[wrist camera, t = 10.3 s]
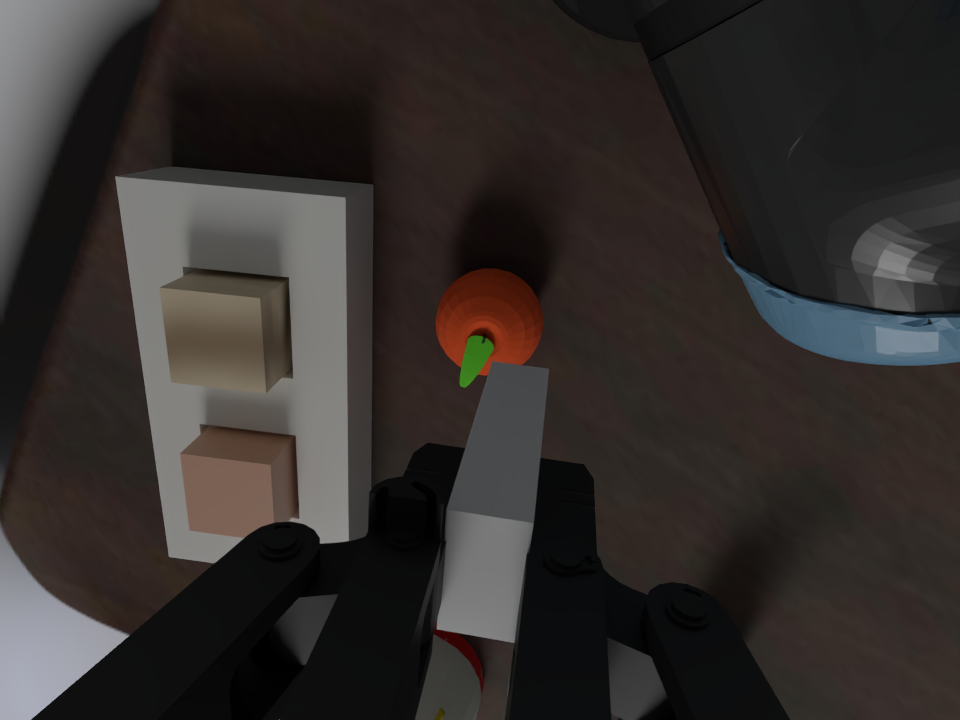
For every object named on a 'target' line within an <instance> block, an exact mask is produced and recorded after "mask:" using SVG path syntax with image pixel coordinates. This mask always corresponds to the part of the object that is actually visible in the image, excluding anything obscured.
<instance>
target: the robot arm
mask: <svg viewBox="0 0 960 720" xmlns="http://www.w3.org/2000/svg"><path fill="white" fill-rule="evenodd" d="M553 1H554V3H555V4H556V5H557V6H558V7H559V8H560V9H561V10H562V11H563V12H564V13H566V14H567V15H568V16H569V17H570V18H572V19H573V20H575V21H576V22H577V23H579V24H581V25H582V26H584V27H586V28H587V29H589V30H591V31H594V32H596V33H598V34H601V35H603V36H606V37H610V38H613V39H618V40H623V41H631V42H641V45H642V47H643V49H644V52H645V54H646V56H647V59H648V61H649V62H648V63H649V66H650V68H651V70H652V73H653V75H654V77H655V80H656V82H657V84H658V87H659V89H660V91H661V93H662V96H663V98H664V100H665V103H666V105H667V107H668V110H669V112H670V114H671V117H672V119H673V121H674V124H675V126H676V128H677V130H678V133H679V135H680V137H681V140H682V142H683V144H684V147H685V149H686V151H687V154H688V156H689V158H690V161H691V163H692V165H693V167H694V170H695V172H696V174H697V177H698V179H699V181H700V184H701V186H702V188H703V191H704V193H705V195H706V197H707V200H708V202H709V204H710V207H711V209H712V211H713V214H714V216H715V218H716V221H717V223H718V225H719V228H720V230H719V241H720V245H721V248H722V251H723V253H724V255H725V257H726V259H727V260H728V262H730V263H731V264H732V266H733V268H734V270H735V271H736V272H737V273H738V274H739V275H740V276H741V278H742V280H743V282H744V284H745V286H746V288H747V290H748V292H749V294H750V296H751V298H752V300H753V302H754V304H755V306H756V308H757V310H758V312H759V313H760V315H761V316H762V317H763V319H764V320H765V321H767V323H768V324H769V325H770V326H771V327H772V328H773V329H774V330H775V331H776V332H777V333H778V334H780V335H781V336H783V337H784V338H785V339H787V340H789V341H790V342H792V343H794V344H796V345H798V346H800V347H802V348H805V349H807V350H810V351H812V352H815V353H818V354H821V355H824V356H828V357H832V358H836V359H841V360H845V361H852V362H859V363H868V364H879V365H898V366H913V365H933V364H945V363H953V362H960V0H553ZM651 59H652V60H651ZM548 374H549V369H546V368H539V367H532V366H524V365H517V364H510V363H502V362H495V361H492V364H491V367H490V370H489V373H488V377H487V380H486V383H485V386H484V390H483V393H482V396H481V399H480V403H479V406H478V409H477V412H476V415H475V419H474V422H473V425H472V428H471V432H470V435H469V438H468V441H467V445H466V448H459V447H453V446H446V445H439V444H433V443H427V444H425V445H424V446H423V447H421V448H420V449H418V450H417V451H416V452H414V453H413V455H412V458H411V460H410V462H409V464H408V466H407V469H406V471H405V473H404V475H403V477H396V478H391V479H386V480H384V481H382V482H380V483H378V484H376V485H375V486H374V487H373V488H372V489H371V491H370V492H369V508H368V532H367V534H366V536H365V537H362V538H359V539H356V540H353V541H346V542H337V543H322V544H320V538H319V536H318V535H317V533H316V532H315V530H314V529H312V528H310V527H308V526H307V525H305V524H301V523H296V522H291V521H290V522H275V523H272V524H268V525H265V526H262V527H260V528H258V529H256V530H255V531H253V532H252V533H250V534H248V535H247V536H246V537H245V538H244V539H243V540H241V541H240V542H239V543H238V544H237V545H236V546H234V547H233V548H232V549H231V550H230V551H228V552H227V553H226V554H225V555H224V556H223V557H221V558H220V559H219V560H218V561H217V562H216V563H214V564H213V565H212V566H211V567H210V568H209V569H207V570H206V571H205V572H204V573H203V574H202V575H200V576H199V577H198V578H197V579H196V580H194V581H193V582H192V583H191V584H190V585H189V586H187V587H186V588H185V589H184V590H183V591H182V592H180V593H179V594H178V595H177V596H176V597H175V598H173V599H172V600H171V601H170V602H169V603H167V604H166V605H165V606H164V607H163V608H162V609H160V610H159V611H158V612H157V613H156V614H155V615H153V616H152V617H151V618H150V619H149V620H148V621H146V622H145V623H144V624H143V625H142V626H140V627H139V628H138V629H137V630H136V631H135V632H133V633H132V634H131V635H130V636H129V637H128V638H126V639H125V640H124V641H123V642H122V643H121V644H119V645H118V646H117V647H116V648H115V649H114V650H112V651H111V652H110V653H109V654H108V655H106V656H105V657H104V658H103V659H102V660H101V661H100V662H99V663H97V664H96V665H95V666H94V667H92V668H91V669H90V670H89V671H88V672H87V673H86V674H84V675H83V676H82V677H81V678H80V679H78V680H77V681H76V682H75V683H74V684H72V685H71V686H70V687H69V688H68V689H67V690H65V691H64V692H63V693H62V694H61V695H60V696H58V697H57V698H56V699H55V700H54V701H52V702H51V703H50V704H49V705H48V706H47V707H46V708H44V709H43V710H42V711H41V712H40V713H38V714H37V715H36V716H35V717H34V718H33V719H32V720H279V719H280V720H415V718H416V714H417V710H418V706H419V702H420V698H421V694H422V690H423V686H424V682H425V678H426V674H427V670H428V666H429V662H430V658H431V655H432V646H433V633H434V629H435V625H436V621H437V629H438V630H444V631H450V632H455V633H461V634H467V635H473V636H478V637H484V638H490V639H495V640H501V641H507V642H512V643H514V650H513V657H512V664H511V671H510V677H509V684H508V691H507V697H508V698H507V706H506V715H505V720H611V714H613V715H615V716H617V717H618V720H790V719H789V717H788V715H787V714H786V712H785V710H784V709H783V707H782V705H781V704H780V702H779V700H778V698H777V697H776V695H775V693H774V692H773V690H772V688H771V687H770V685H769V683H768V681H767V680H766V678H765V676H764V675H763V673H762V671H761V669H760V668H759V666H758V664H757V663H756V661H755V659H754V658H753V656H752V654H751V652H750V651H749V649H748V647H747V646H746V644H745V642H744V641H743V639H742V637H741V635H740V634H739V632H738V630H737V629H736V627H735V625H734V624H733V622H732V620H731V618H730V617H729V615H728V613H727V612H726V610H725V609H724V608H723V607H722V606H721V604H720V603H719V602H718V601H717V600H716V599H715V598H713V597H712V596H710V595H709V594H707V593H706V592H705V591H703V590H701V589H698V588H696V587H693V586H690V585H688V584H681V583H674V582H671V583H665V584H659V585H658V586H656V587H655V588H653V589H652V590H650V591H649V594H648V595H646V594H644V593H641V592H639V591H636V590H634V589H632V588H629V587H627V586H625V585H623V584H621V583H620V582H618V581H617V580H615V579H614V578H613V577H611V576H610V575H609V574H608V573H607V572H606V571H605V570H604V569H603V566H602V563H601V560H600V558H599V557H598V556H597V545H596V522H595V509H594V508H595V499H594V479H593V477H592V476H591V474H590V473H589V471H588V470H587V469H586V467H585V466H584V464H578V463H571V462H564V461H557V460H551V459H544V458H540V455H541V445H542V435H543V425H544V414H545V404H546V394H547V384H548ZM437 617H438V618H437Z"/></svg>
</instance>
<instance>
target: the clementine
mask: <svg viewBox="0 0 960 720" xmlns="http://www.w3.org/2000/svg"><path fill="white" fill-rule="evenodd" d="M542 331H543V315H542V311H541V307H540V303H539V301H538V299H537V297H536V295H535V293H534V292H533V290H532V288H531V287H530V286H529V285H528V284H527V283H526V282H525V281H524V280H523V279H521V278H520V277H518V276H516V275H514V274H513V273H511V272H508V271H504V270H501V269H497V268H483V269H479V270H475V271H471V272H469V273H467V274H465V275H464V276H462V277H460V278H458V279H457V280H455V281H454V282H453V283H452V284H451V286H450V287H449V288H448V289H447V290H446V291H445V293H444V295H443V296H442V298H441V300H440V302H439V306H438V311H437V315H436V332H437V335H438V339H439V342H440V345H441V346H442V348H443V349H444V351H445V352H446V354H447V356H448V357H449V358H451V359H452V360H453V361H454V362H455V363H456V364H457V365H458V366H460V367H461V374H460V386H461V387H464V388H465V387H467V386H468V385H469V384H470V383H471V382H472V381H473V379H474V378H475V377H476V376H477V375H478V374H479V375H488V373H489V370H490V367H491V364H492V361H495V362H502V363H510V364H517V365H522V364H523V363H525V362H526V361H527V360H528V359H529V358H530V357H531V355H532V354H533V352H534V350H535V349H536V347H537V345H538V344H539V341H540V338H541V334H542Z"/></svg>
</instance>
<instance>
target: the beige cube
mask: <svg viewBox="0 0 960 720" xmlns="http://www.w3.org/2000/svg"><path fill="white" fill-rule="evenodd" d="M159 289H160V297H161V305H162V313H163V321H164V329H165V337H166V345H167V353H168V361H169V369H170V377H171V383H180V384H188V385H197V386H205V387H214V388H222V389H231V390H239V391H248V392H256V393H265V394H266V393H267V392H268V391H269V390H270V389H271V388H272V387H273V386H274V385H275V384H276V383H277V382H278V381H279V380H280V379H281V378H282V377H283V376H284V375H285V374H286V373H287V372H288V371H289V370H290V369H291V368H292V367H293V361H292V338H291V315H290V293H289V277H280V276H270V275H261V274H251V273H241V272H231V271H221V270H212V269H202V268H200V269H198V270H195V271H193V272H191V273H189V274H187V275H185V276H183V277H181V278H179V279H176V280H174V281H172V282H170V283H168V284H166V285H164V286H162V287H160V288H159Z"/></svg>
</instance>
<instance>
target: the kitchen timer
mask: <svg viewBox="0 0 960 720" xmlns="http://www.w3.org/2000/svg"><path fill="white" fill-rule="evenodd" d="M483 681H484V680H483V673H482V666H481V663H480V661H479V659H478V657H477V655H476V653H475V651H474V650H473V648H472V647H471V646H470V645H469V644H468V643H467V641H466V640H465V639H464V638H463V637H462V636H461V635H460V634H459V633H455V632H450V631H444V630H438V629H437V621H436V625H435V629H434V633H433V646H432V655H431V658H430V662H429V666H428V670H427V674H426V678H425V682H424V686H423V690H422V694H421V698H420V702H419V706H418V710H417V714H416V718H415V720H476V716H477V712H478V708H479V704H480V700H481V696H482V689H483Z"/></svg>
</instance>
